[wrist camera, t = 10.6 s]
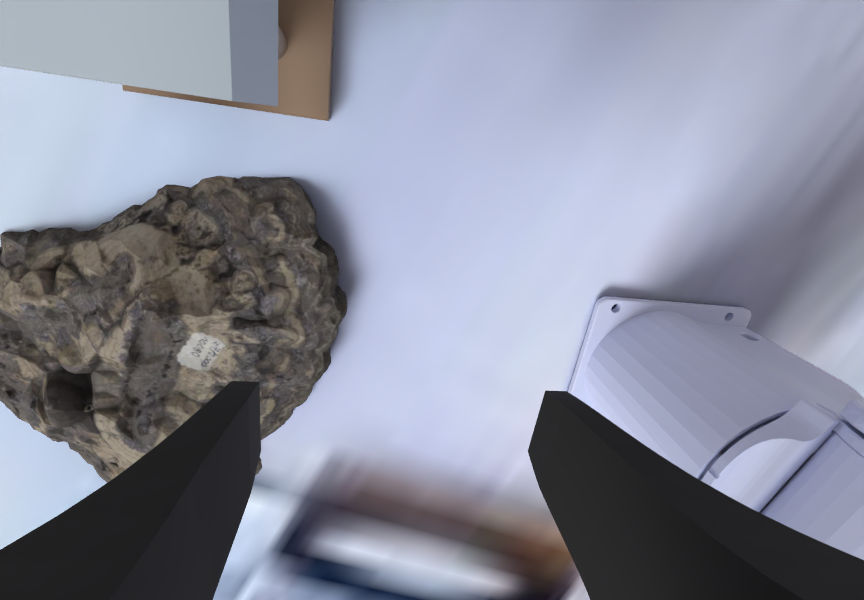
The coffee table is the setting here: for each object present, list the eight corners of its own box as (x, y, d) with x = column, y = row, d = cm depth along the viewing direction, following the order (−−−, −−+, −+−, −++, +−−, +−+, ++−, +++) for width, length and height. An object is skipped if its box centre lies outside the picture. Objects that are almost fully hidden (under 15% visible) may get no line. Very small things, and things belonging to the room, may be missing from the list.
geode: (-73, 419, 20) (236, 508, 25) (-166, 482, 16) (216, 572, 21) (50, 34, 15) (403, 240, 20) (-44, 8, 12) (412, 266, 17)
